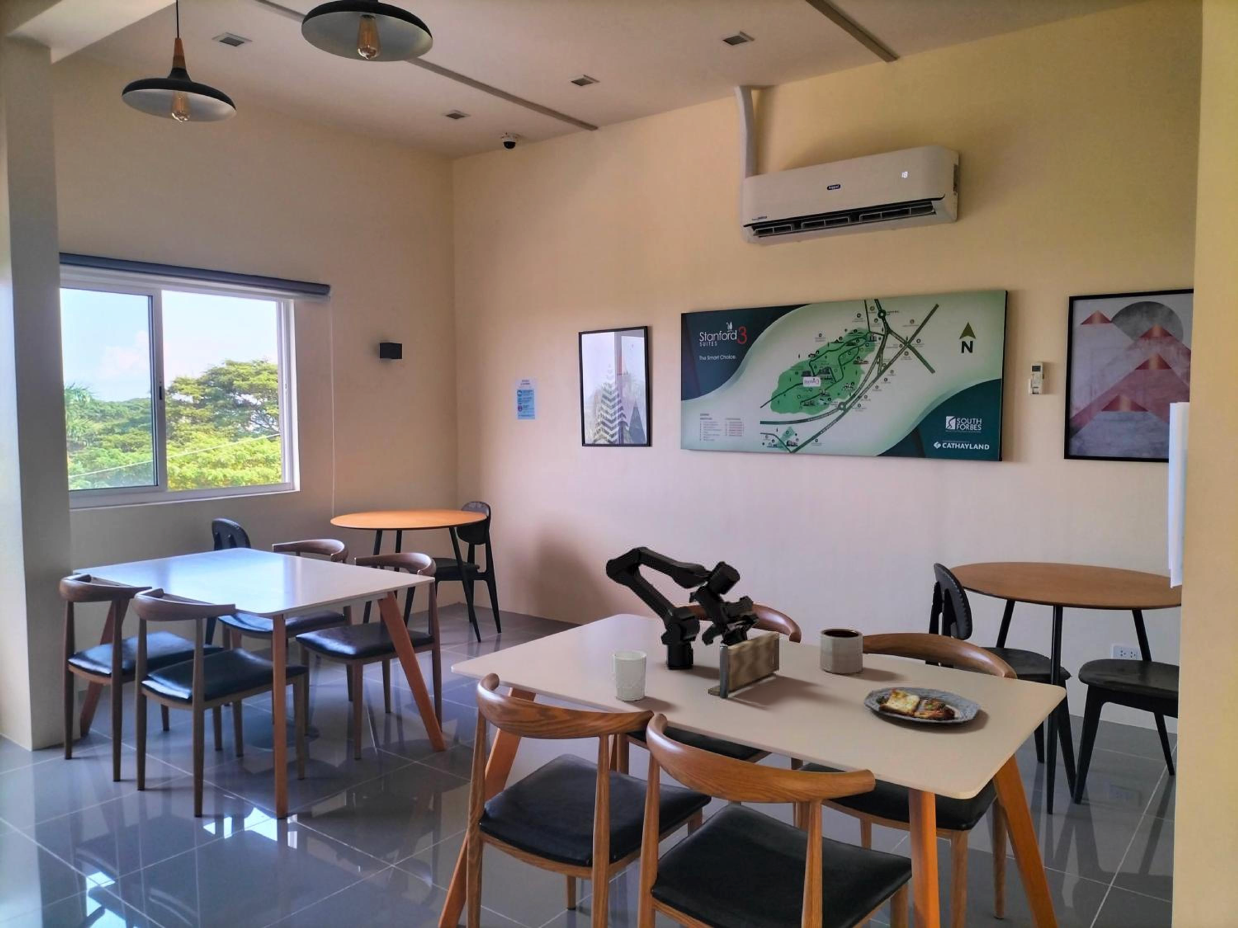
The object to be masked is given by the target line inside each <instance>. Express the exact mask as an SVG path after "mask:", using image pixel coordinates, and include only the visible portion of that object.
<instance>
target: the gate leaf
mask: <svg viewBox="0 0 1238 928" xmlns="http://www.w3.org/2000/svg"><path fill="white" fill-rule="evenodd" d="M780 634H781V633H780V632H778V631H776V630H775V631H771V632H767V633H764V634H761V635H759V636H755V637H753V638H750V639H748V640H747V641H744V642H741V643H738V644H735V645H732V646H728V689H729V690H731V689H733V688H736V687H738V686H740V685H743V684H745V683H748V682H750V681H753V680H755V679H757V678H760V677H762V676H765V675H767V674H770V673H772V672H774V673H775V672H777V671H780V638H781V635H780ZM770 675H771V674H770ZM765 677H766V676H765ZM753 682H754V681H753ZM736 689H737V688H736Z"/></svg>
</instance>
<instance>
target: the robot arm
mask: <svg viewBox="0 0 1238 928" xmlns="http://www.w3.org/2000/svg"><path fill="white" fill-rule="evenodd" d="M641 566H645V567H647V568H650V569H652V570H654V571H657V572H659V573H661V574H664V575H667V576H668V577H670V578H671V579H672V581H674V583H675V584H677V585H678V586H679V587H681V588H682V589H684V590H691V589H694V588H697V589H696V590H695V591H691V592H690V591H689V599H688V603H689V604H692V603H698V605H699V606H700V607H701V609H702V610H703V612H704V613H705V614H706V615H705V616H704V618H705V620H706V621H711V623H712V624H710V626H709V627H708V628H707V629H706V630H705V631H704V632H703V633H702V634H701V641H702V642H703V644H704V645H705V646H706V647H707V646H710V645H712V644H714V639H715V638H717V637H719V636H721V638H722V640H720V641H719V642H720V644H722V645H724V646H728V647H729V646H732V645H735V644H738V643H741V642H744V641H747V640H749V638H748V633H747V632H749V631H750V630H751V629H752V628H753V627H754V626H755V625H756V624H757V623H758V622H759V621H760V619H761V618H760V617H759V616H758V614H757V613H755V612H752V611H753V609H754V608H753V606H754V601H753V600H752V599H751V598H750V597H749V595H744V596H742V597H739V598H738V601H735V602H733V603H732V602H731V601H730V600H726V601H725V600H724V598H723V597H722V595H723V596H726V595H727V594H728V593H729V592H730V591H731V590H732V589H733V587H735V586H736V584H737V583H738V582H740V580H741V574H740V573H739V571H738V570H737V569H736V568H734V567H733V566H732V565H731V564H730V565H729V564H727V563H726V562H725V561H724V560H721V561H718V562H717V564H716V565H715V567H714V568H713V569H712V570H708V569H706V567H705V566H704V565H702V564H699V563H694V562H687V561H686V562H683V561H678V560H676V559H673V558H672V557H668V556H667V555H665V554H662V553H659V552H658V551H654V550H652V549H649V548H648V547H647V546H644V545H643V546H637V547H634V548H631V549H630V550H629V551H627V552H625V553H623V554H622V555H619V556H618V557H616V558H615V557H614V558H610V559H609V560H607V562H606V564H605V574H606V576H607V578H609V579H610V580H612V581H613V582H614V583H616V584H619V585H621V586H625V587H627V588H628V589H629V590H630V591H632V592H633V593H634V594H635V595H636V596H637V597H638V598H639V599H640V600H641V601H642V602H644V604H646V605H647V607H649V608H650V609H651V610H652V611H653V612H654V613H655V614H656V615H657V616H658V617H659V618H660V619H661V620H662V622H663V627H664V629H665V632H663V633H662V634H661V636H660V640H661V644H662V645H665V646H666V660H665V665H666V667H667V669H668V670H679V669H680V670H685V669H686V670H687V669H693V665H694V648H693V647H692V642H693V643H694V642H696V639H697V637H698V635H699V634H700V631H701V622H700V621H701V620H699V618H698V617H697V616H698V614H696V613H694V612H693V611H692V610H691V609H690V608H689V607H688V606H686V605H685V606H683V605H682V606H679V607H677V606H675V605H674V604H673V603H672V602H671V601H670V600H669V599H668V598H667V597H665V595H663V594H662V593H661V592H660V591H659V590H658V589H657V588H656V587H654V585H652V583H650V582H649V581H648V580H647V579H646V578H645V577H644V576H643V575H642V574H641V571H640V567H641ZM747 612H748V613H747ZM742 614H743V615H742Z"/></svg>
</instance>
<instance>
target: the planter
mask: <svg viewBox="0 0 1238 928" xmlns="http://www.w3.org/2000/svg"><path fill="white" fill-rule="evenodd" d="M863 639H864V638H863V633H862V632H860V631H857V630H853V629H849V628H848V629H847V628H827V629H823V630H821V631H820V639H819V640H820V641H819V642H820V643H819V646H820V647H819V666H820V668H821V669H822V670H823V671H824V672H827V673H831V674H835V675H855V673H856V674H858V673H860V672H861V671H862V670H863V667H864V666H863V664H864V663H863V659H864V658H863V656H864V654H863V652H864V651H863V645H864V644H863V642H864V641H863Z"/></svg>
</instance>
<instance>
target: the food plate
mask: <svg viewBox="0 0 1238 928" xmlns="http://www.w3.org/2000/svg"><path fill="white" fill-rule="evenodd" d="M923 700H927V701H924V704H922V702H921V703H920V701H923ZM863 704H864V705H865V706H866V707H867V708H868V709H870V710H873V712H876V713H879V714H881V715H883V716H886V717H892V718H898V719H902V720H906V721H907V720H908V721H911V722H913V723H915V722H916V723H925V724H930V723H931V724H934V723H935V724H936V723H938V724H946V725H949V724H962V723H963V722H964V721H965V722H966V723H968V722H969V721H972V720H973V719H974V718H975V716H977V713H978V712H979V710H980V708H981V706H980V705H979V703H977V702H975V701H973V700H971V699H968V698H966V697H964V696H962V695H959V694H955V693H951V692H948V691H945V690H944V691H942V690H940V689H932V688H925V687H917V686H915V687H912V686H911V687H909V686H891V687H883V688H881V689H874V690H871V691H870V692H869V693H868V694H867V695H866V697H865V698H864V699H863ZM947 705H949V706H951V708H949V706H947ZM944 706H946V707H944ZM952 707H954V708H956V709H957V710H958V711H959V712H960V714H961V717H959V716H958V717H955V715H956V714H957V713H956V711H955V710H956V709H954V708H953V709H952ZM940 709H942V710H940ZM964 717H965V718H964Z"/></svg>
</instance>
